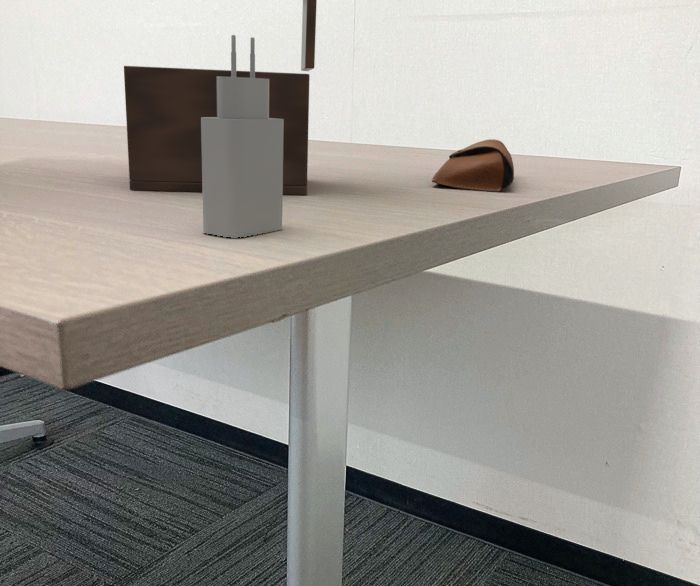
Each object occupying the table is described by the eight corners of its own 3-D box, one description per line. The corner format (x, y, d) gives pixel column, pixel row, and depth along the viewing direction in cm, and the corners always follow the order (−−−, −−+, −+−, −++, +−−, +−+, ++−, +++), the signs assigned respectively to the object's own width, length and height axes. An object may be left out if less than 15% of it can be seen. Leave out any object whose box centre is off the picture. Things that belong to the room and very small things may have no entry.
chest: (129, 190, 68) (123, 65, 64) (151, 174, 80) (147, 68, 76) (306, 195, 69) (309, 73, 66) (302, 179, 81) (304, 75, 78)
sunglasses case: (439, 166, 95) (471, 119, 93) (485, 199, 96) (518, 153, 93) (429, 182, 78) (468, 125, 76) (485, 221, 79) (526, 166, 76)
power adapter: (286, 228, 53) (289, 39, 49) (235, 239, 48) (234, 32, 44) (250, 222, 54) (250, 39, 50) (198, 232, 50) (193, 32, 46)
